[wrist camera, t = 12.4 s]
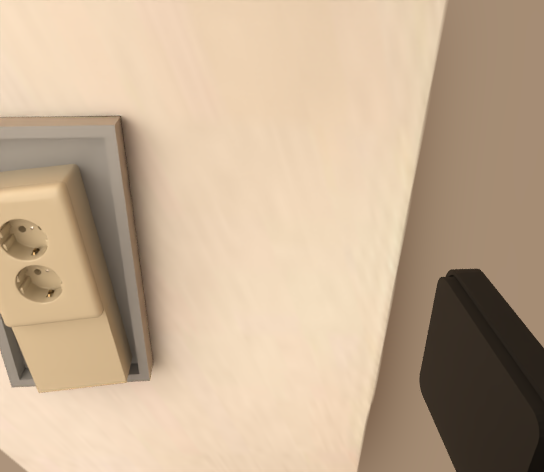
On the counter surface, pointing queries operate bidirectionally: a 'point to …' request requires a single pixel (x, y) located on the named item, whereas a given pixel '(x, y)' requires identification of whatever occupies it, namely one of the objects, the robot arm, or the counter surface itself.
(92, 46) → the counter surface
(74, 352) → the electrical outlet
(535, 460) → the robot arm
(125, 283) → the grey rectangular tray
